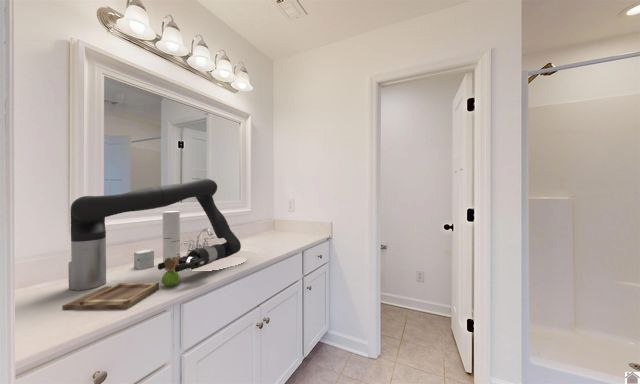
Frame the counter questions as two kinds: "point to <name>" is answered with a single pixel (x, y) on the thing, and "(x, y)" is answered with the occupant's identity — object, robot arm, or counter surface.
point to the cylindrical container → (171, 234)
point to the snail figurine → (170, 271)
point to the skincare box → (143, 259)
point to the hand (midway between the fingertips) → (166, 268)
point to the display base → (114, 296)
